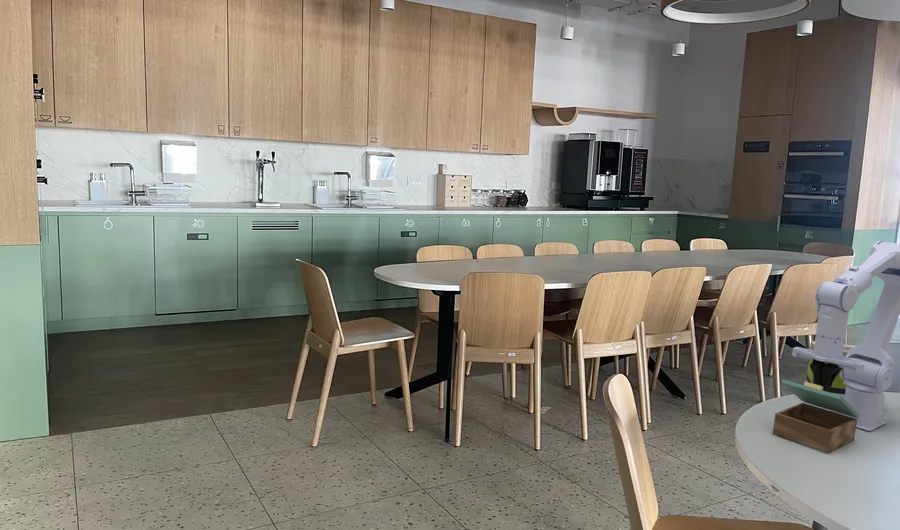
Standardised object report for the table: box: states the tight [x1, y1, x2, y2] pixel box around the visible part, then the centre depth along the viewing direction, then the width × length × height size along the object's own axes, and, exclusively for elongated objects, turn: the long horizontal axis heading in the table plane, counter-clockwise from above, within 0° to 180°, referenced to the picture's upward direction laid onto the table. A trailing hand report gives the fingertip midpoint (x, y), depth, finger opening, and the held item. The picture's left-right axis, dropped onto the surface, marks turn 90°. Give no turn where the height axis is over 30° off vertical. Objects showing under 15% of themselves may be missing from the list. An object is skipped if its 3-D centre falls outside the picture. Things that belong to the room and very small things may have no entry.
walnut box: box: [772, 402, 857, 455], centre depth 153 cm, size 13×12×5 cm
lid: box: [781, 378, 859, 418], centre depth 152 cm, size 14×12×2 cm
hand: (822, 394), depth 153 cm, fingers closed
